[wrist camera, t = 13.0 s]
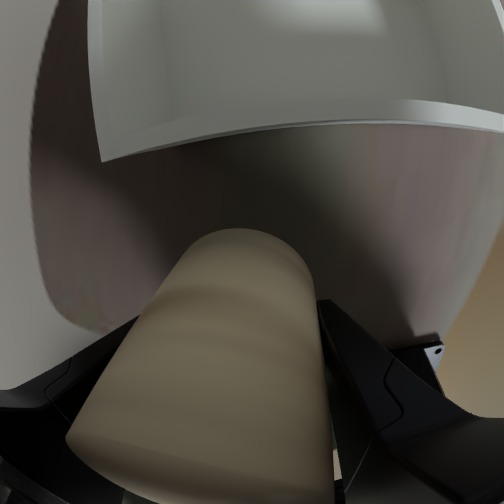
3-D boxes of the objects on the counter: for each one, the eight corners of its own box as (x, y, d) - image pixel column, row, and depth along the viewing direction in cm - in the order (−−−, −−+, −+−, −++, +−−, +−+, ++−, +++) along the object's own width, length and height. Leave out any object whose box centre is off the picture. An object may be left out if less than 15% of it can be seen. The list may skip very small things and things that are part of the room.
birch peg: (299, 353, 11) (297, 524, 4) (178, 335, 11) (113, 487, 5) (328, 239, 8) (390, 467, 2) (171, 220, 9) (18, 385, 2)
